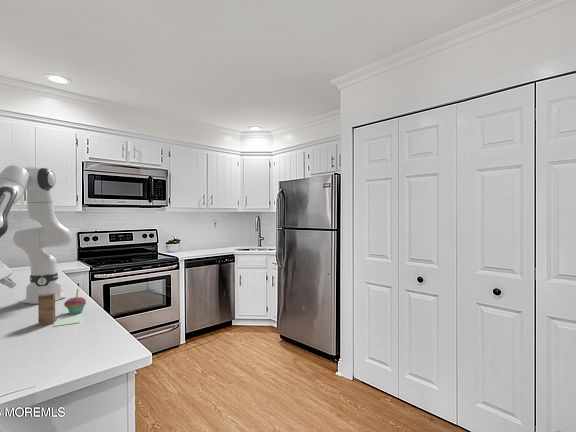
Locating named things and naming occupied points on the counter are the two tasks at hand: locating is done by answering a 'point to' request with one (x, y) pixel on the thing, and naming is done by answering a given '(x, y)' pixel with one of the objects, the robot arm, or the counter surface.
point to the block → (46, 308)
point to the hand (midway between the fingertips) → (14, 286)
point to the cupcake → (75, 304)
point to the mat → (68, 320)
